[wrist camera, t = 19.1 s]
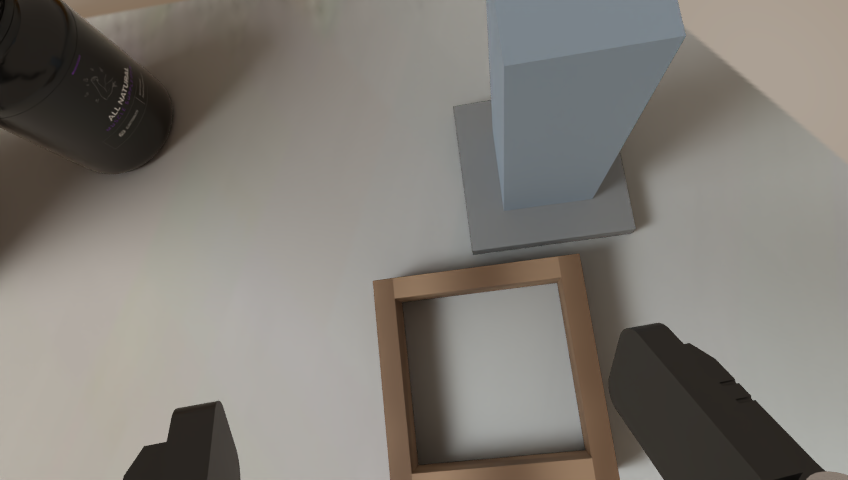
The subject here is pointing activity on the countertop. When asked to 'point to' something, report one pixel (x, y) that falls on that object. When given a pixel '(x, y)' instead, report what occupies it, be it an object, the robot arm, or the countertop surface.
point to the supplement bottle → (77, 89)
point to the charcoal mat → (529, 224)
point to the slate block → (571, 89)
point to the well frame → (596, 465)
